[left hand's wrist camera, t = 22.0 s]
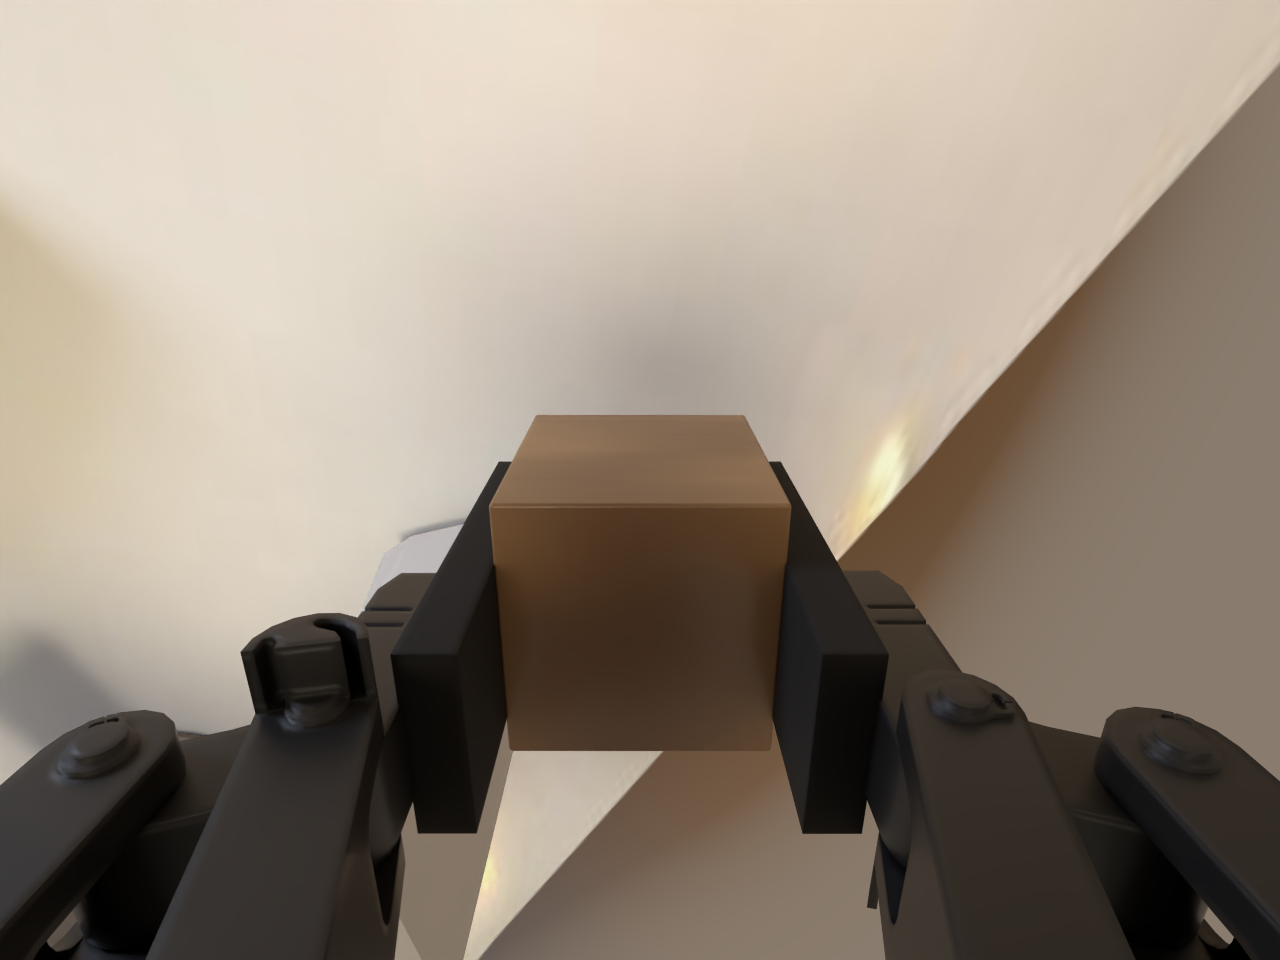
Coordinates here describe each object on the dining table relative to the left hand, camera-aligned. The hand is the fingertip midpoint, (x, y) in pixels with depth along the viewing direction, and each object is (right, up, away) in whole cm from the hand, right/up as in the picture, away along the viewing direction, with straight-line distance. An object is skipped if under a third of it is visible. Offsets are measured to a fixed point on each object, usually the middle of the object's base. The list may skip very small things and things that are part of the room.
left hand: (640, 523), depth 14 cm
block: (0, 0, 0) cm, 0 cm away
